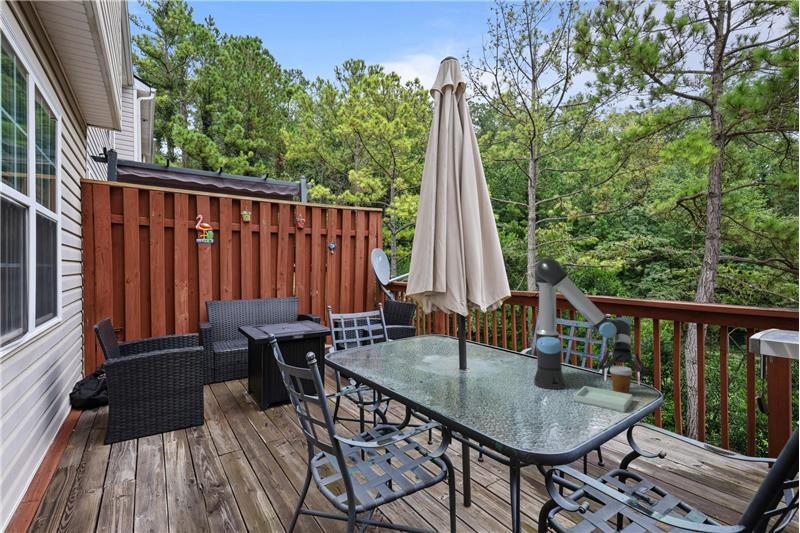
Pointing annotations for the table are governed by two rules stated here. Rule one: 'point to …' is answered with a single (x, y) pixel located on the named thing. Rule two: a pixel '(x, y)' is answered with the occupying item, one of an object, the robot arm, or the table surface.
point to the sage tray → (603, 398)
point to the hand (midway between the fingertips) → (621, 383)
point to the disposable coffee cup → (621, 378)
